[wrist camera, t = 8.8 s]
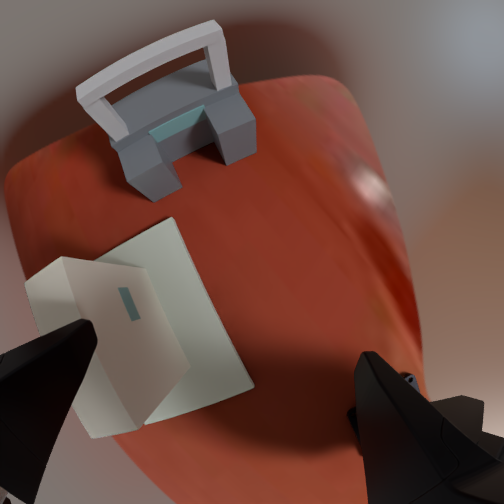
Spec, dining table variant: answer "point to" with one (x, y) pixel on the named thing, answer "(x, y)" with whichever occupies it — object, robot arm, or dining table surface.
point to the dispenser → (171, 109)
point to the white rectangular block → (112, 339)
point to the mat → (185, 321)
